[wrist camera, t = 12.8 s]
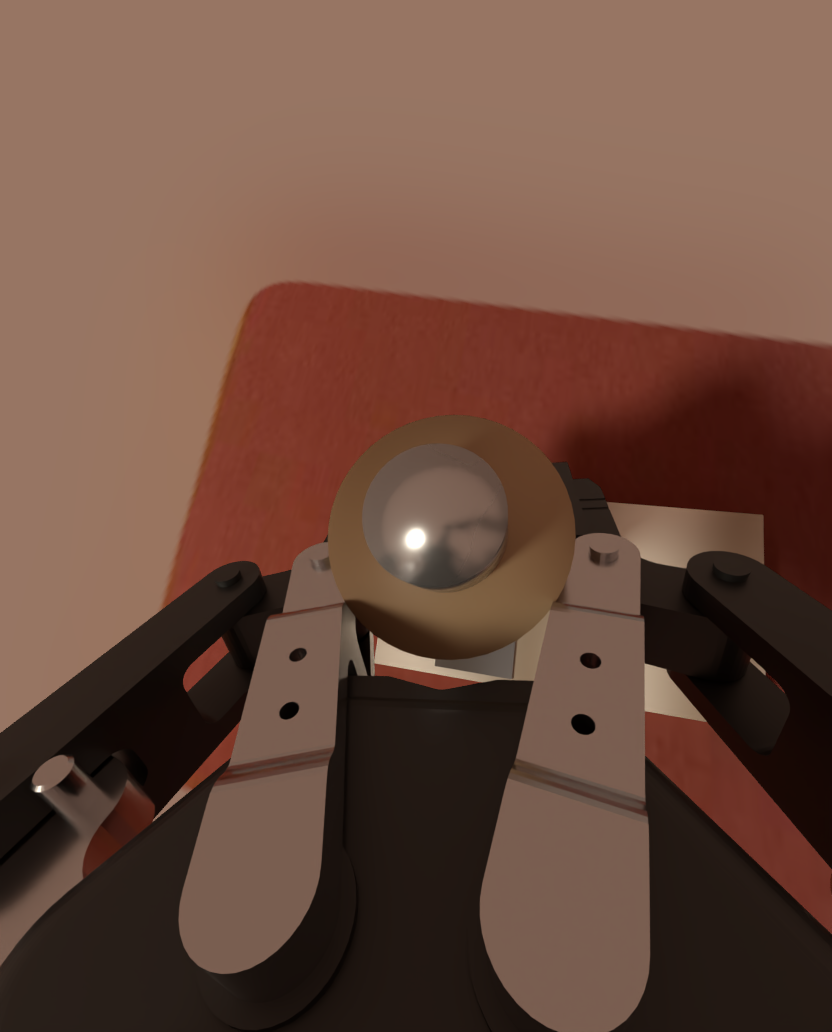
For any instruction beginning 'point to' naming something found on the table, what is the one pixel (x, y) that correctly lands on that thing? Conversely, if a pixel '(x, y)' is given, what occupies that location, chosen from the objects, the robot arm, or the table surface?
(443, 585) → the wooden pepper mill
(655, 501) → the table surface
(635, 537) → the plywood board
